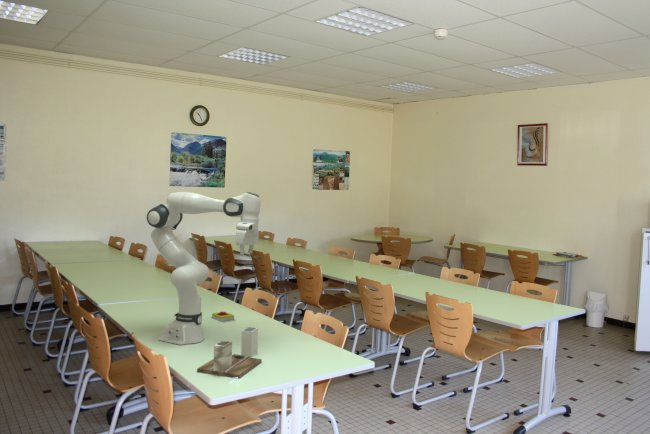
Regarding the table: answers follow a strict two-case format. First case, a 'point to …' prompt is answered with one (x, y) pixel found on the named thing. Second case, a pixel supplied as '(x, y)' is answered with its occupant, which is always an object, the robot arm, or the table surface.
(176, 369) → the table surface
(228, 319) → the emergency button
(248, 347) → the grey module block
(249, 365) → the rail board
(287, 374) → the table surface
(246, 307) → the table surface
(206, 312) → the table surface
